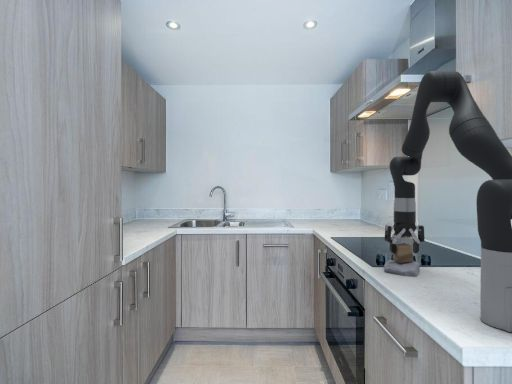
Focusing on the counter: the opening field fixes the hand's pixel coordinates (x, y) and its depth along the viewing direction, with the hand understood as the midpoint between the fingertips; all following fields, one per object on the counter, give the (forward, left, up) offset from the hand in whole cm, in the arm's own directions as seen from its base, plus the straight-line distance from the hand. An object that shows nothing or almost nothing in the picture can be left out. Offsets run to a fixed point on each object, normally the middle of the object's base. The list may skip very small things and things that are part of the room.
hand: (404, 253), depth 122 cm
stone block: (-2, +2, -7) cm, 8 cm away
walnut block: (0, +1, -3) cm, 3 cm away
